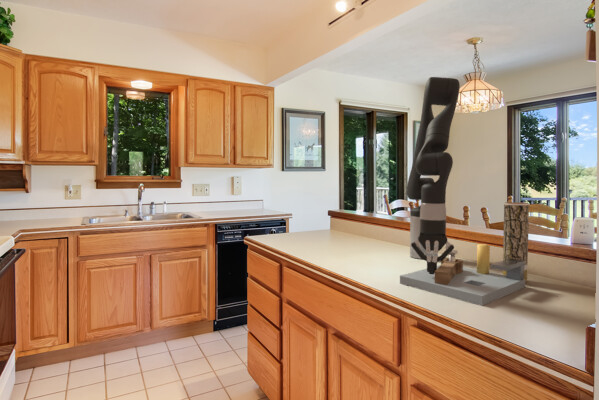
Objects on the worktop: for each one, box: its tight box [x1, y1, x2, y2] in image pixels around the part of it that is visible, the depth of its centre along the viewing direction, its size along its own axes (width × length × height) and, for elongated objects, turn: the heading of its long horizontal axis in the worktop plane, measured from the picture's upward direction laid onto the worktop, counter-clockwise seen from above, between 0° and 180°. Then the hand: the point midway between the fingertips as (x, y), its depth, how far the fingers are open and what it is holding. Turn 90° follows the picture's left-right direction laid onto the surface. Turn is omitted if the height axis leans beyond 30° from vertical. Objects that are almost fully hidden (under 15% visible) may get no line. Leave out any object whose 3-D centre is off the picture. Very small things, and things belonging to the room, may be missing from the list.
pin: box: [476, 243, 491, 274], centre depth 118 cm, size 4×4×9 cm
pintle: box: [448, 249, 458, 262], centre depth 121 cm, size 3×3×9 cm
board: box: [399, 264, 526, 306], centre depth 114 cm, size 26×26×2 cm
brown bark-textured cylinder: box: [502, 201, 530, 283], centre depth 118 cm, size 7×7×25 cm
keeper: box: [490, 258, 524, 281], centre depth 108 cm, size 12×4×8 cm, turn 127°
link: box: [435, 257, 464, 285], centre depth 115 cm, size 21×6×4 cm, turn 148°
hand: (431, 273), depth 114 cm, fingers closed
